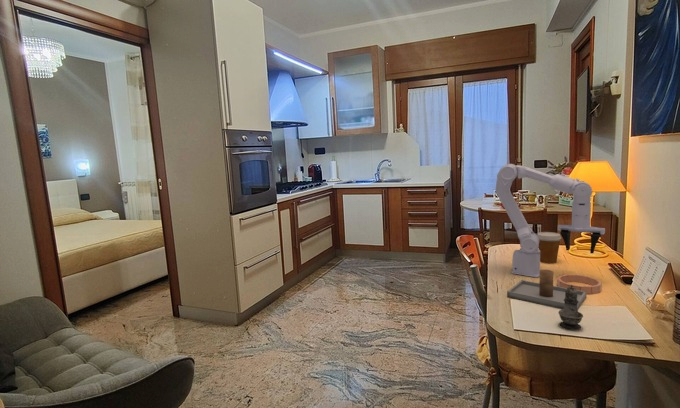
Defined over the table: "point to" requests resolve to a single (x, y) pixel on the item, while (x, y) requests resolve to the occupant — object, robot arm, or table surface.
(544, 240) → the disposable coffee cup
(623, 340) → the table surface
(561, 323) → the dark grey figurine
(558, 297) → the tray
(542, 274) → the dowel
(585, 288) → the pinkish brown ring
